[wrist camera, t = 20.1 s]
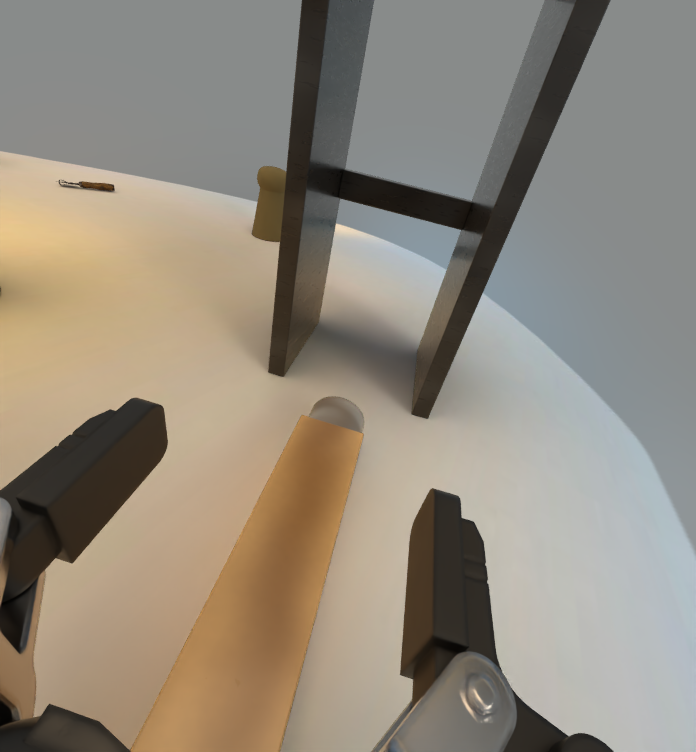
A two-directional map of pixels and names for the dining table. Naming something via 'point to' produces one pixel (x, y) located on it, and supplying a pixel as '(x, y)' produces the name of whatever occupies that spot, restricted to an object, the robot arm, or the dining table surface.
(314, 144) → the shelf stand
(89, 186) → the can opener
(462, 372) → the dining table surface
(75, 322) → the dining table surface
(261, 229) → the olive brown pawn
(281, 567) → the long wooden beam
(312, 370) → the dining table surface
